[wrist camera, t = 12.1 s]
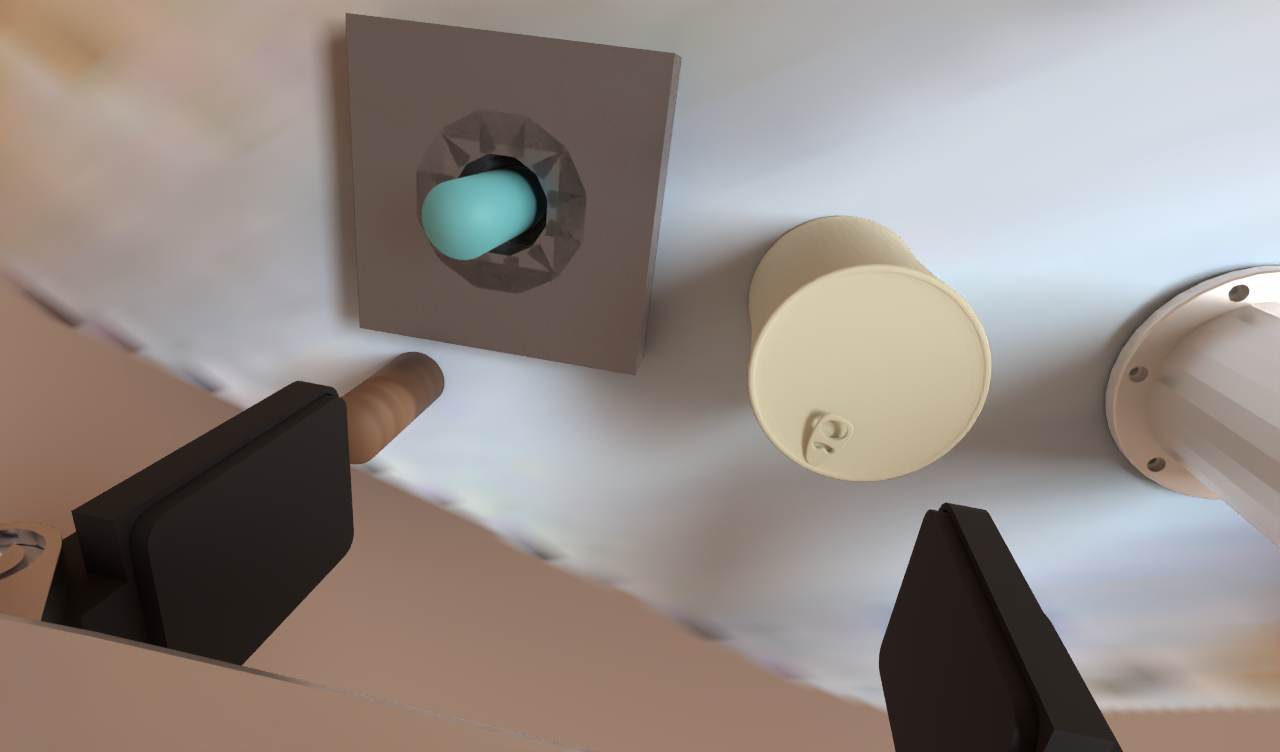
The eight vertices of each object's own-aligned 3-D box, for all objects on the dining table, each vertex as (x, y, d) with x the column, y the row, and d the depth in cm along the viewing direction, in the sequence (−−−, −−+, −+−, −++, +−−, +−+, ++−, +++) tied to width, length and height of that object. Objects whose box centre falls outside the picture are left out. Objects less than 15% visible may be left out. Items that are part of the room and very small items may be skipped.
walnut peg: (444, 356, 42) (378, 410, 34) (444, 407, 43) (380, 469, 36) (391, 347, 42) (314, 398, 35) (392, 398, 43) (318, 457, 36)
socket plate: (681, 57, 33) (674, 53, 31) (642, 356, 40) (634, 374, 37) (377, 20, 35) (345, 12, 32) (386, 312, 41) (359, 327, 39)
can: (720, 337, 39) (706, 430, 28) (798, 185, 35) (819, 223, 24) (865, 405, 39) (909, 525, 28) (959, 261, 35) (1053, 333, 24)
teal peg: (549, 170, 37) (498, 186, 29) (545, 235, 38) (495, 265, 31) (487, 161, 37) (421, 174, 30) (485, 225, 38) (421, 253, 31)
